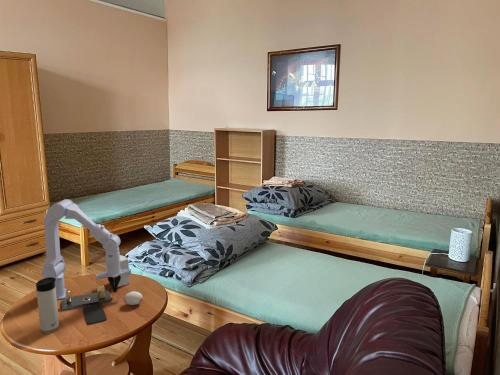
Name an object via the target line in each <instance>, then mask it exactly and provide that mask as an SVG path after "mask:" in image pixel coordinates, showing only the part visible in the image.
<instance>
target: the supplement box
mask: <svg viewBox="0 0 500 375" xmlns="http://www.w3.org/2000/svg"><path fill="white" fill-rule="evenodd" d="M129 266H130V265H129V258H127V257H126V256H124V255H122V254H120V269H130V267H129ZM130 283H131V281H130V275H129V274H127V275H121V280H120V282H119V284H118V287H117V288H119V287H123V286H127V285H129V284H130ZM114 285H115V283H114Z"/></svg>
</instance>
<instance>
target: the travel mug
mask: <svg viewBox="0 0 500 375" xmlns="http://www.w3.org/2000/svg"><path fill="white" fill-rule="evenodd" d="M55 281H56V278H53V277H49V278H41V279H40V280H38V281H37V282H36V283H35V288H36V300H37V309H38V317H39V328H40V332H41V333H43V334H50V333H54V332H55V331H57V330H58V329H59V328H60V323H59V322H60V321H59V311H58V310H59V309H58V299H57V298H56V288H55Z"/></svg>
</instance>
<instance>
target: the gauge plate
mask: <svg viewBox="0 0 500 375" xmlns="http://www.w3.org/2000/svg"><path fill="white" fill-rule="evenodd" d="M65 292H66V298H62V299H61V311H68V310H74V309H78V308H83V307H86V306H91V305H95V304H101V305H102V304H105V303H111V302H112V299H111V295H110V290H105V296H106V298H100V299H98V295H97V291H96V292H92V293H91V292H90V293H86V294H81V295H74V296H71V290H69V289H66V291H65Z"/></svg>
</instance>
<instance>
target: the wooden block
mask: <svg viewBox="0 0 500 375" xmlns="http://www.w3.org/2000/svg"><path fill="white" fill-rule="evenodd" d="M105 288H106V287H105V285H100V286H96V292H97V295H98V299H100V298H106V296H105V291H106V289H105Z"/></svg>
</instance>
